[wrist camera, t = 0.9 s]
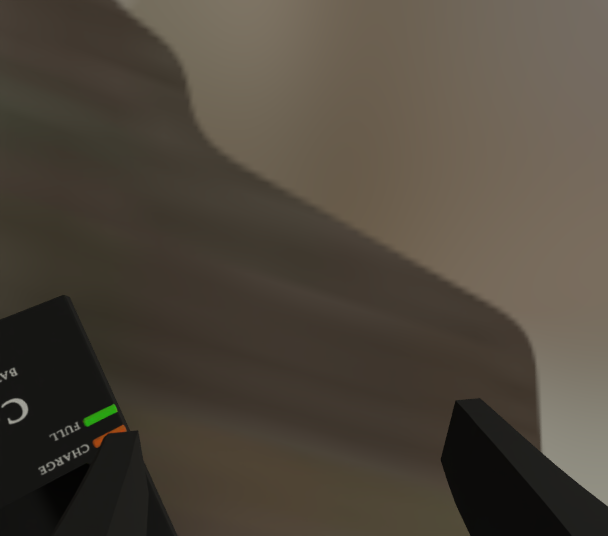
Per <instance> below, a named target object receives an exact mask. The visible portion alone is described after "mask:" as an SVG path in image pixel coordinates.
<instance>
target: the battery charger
mask: <svg viewBox="0 0 608 536" xmlns="http://www.w3.org/2000/svg"><path fill="white" fill-rule="evenodd" d="M128 431H130V430H129V427H128V425H127V423H126V421H125V419H124V416H123V414H122V412H121V410H120V408H119V405H118V403H117V401H116V399H115V397H114V394H113V392H112V390H111V388H110V385H109V383H108V381H107V379H106V377H105V374H104V372H103V370H102V368H101V366H100V363H99V361H98V359H97V357H96V354H95V352H94V350H93V348H92V346H91V343H90V341H89V339H88V337H87V335H86V332H85V330H84V328H83V326H82V324H81V321H80V319H79V317H78V315H77V312H76V310H75V308H74V306H73V304H72V301H71V299H70V297H68V296H65V295H62V296H59V297H57V298H54V299H52V300H49V301H47V302H44V303H42V304H39V305H37V306H34V307H31V308H29V309H26V310H24V311H21V312H19V313H16V314H14V315H11V316H8V317H6V318H3V319H1V320H0V536H50V535H51V534H52V532H53V531H54V529H55V527H56V526H57V524H58V522H59V520H60V519H61V517H62V515H63V514H64V512H65V510H66V509H67V507H68V505H69V503H70V502H71V500H72V498H73V497H74V495H75V493H76V491H77V489H78V488H79V486H80V484H81V482H82V480H83V478H84V477H85V475H86V473H87V471H88V469H89V467H90V465H91V463H92V461H93V459H94V457H95V455H96V453H97V451H98V449H99V447H100V444H101V442H102V440H103V438H104V437H105V436H106V435H107V434H108V433H117V432H128ZM143 462H144V461H143ZM144 468H145V474H146V480H147V486H148V491H149V498H148V516H147V532H146V536H177V534H176V531H175V529H174V527H173V525H172V523H171V520H170V518H169V516H168V514H167V512H166V509H165V507H164V505H163V503H162V500H161V498H160V496H159V494H158V492H157V489H156V487H155V485H154V483H153V481H152V478H151V476H150V474H149V472H148V470H147V467H146V465H145V463H144Z"/></svg>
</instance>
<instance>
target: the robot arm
mask: <svg viewBox="0 0 608 536" xmlns="http://www.w3.org/2000/svg"><path fill="white" fill-rule="evenodd" d="M441 462H442V466H443V469H444V472H445V475H446V478H447V481H448V484H449V487H450V490H451V492H452V495H453V498H454V501H455V503H456V506H457V508H458V510H459V512H460V514H461V516H462V519H463V521H464V523H465V525H466V527H467V529H468V531H469V533H470V536H608V506H606V505H605V504H604V503H603V502H601V501H600V500H599V499H597V498H596V497H595V496H594V495H592V494H591V493H590V492H588V491H587V490H586V489H585V488H583V487H582V486H581V485H579V484H578V483H577V482H576V481H574V480H573V479H572V478H571V477H570V476H568V475H567V474H566V473H565V472H564V471H562V470H561V469H560V468H558V467H557V466H556V465H555V464H554V463H553V462H552V461H550V460H549V459H548V458H547V457H546V456H545V455H543V454H542V453H541V452H540V451H539V450H538V449H537V448H535V447H534V446H533V445H532V444H531V443H530V442H529V441H527V440H526V439H525V438H524V437H523V436H522V435H521V434H520V433H518V432H517V431H516V430H515V429H514V428H513V427H512V426H511V425H510V424H508V423H507V422H506V421H505V420H504V419H503V418H502V417H501V416H500V415H498V414H497V413H496V412H495V411H494V410H493V409H492V408H491V407H489V406H488V405H487V404H486V403H485V402H484V401H483V400H481V399H480V398H477V399H467V400H456V401H455V405H454V409H453V413H452V417H451V421H450V425H449V429H448V433H447V437H446V441H445V445H444V449H443V453H442V457H441ZM148 498H149V491H148V486H147V480H146V474H145V468H144V462H143V456H142V451H141V445H140V439H139V433H138V431H128V432H117V433H108V434H107V435H106V436H105V437H104V438H103V440H102V442H101V444H100V447H99V449H98V451H97V453H96V455H95V457H94V459H93V461H92V463H91V465H90V467H89V469H88V471H87V473H86V475H85V477H84V478H83V480H82V482H81V484H80V486H79V488H78V489H77V491H76V493H75V495H74V497H73V498H72V500H71V502H70V503H69V505H68V507H67V509H66V510H65V512H64V514H63V515H62V517H61V519H60V520H59V522H58V524H57V526H56V527H55V529H54V531H53V532H52V534H51V535H50V536H146V532H147V516H148Z"/></svg>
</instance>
